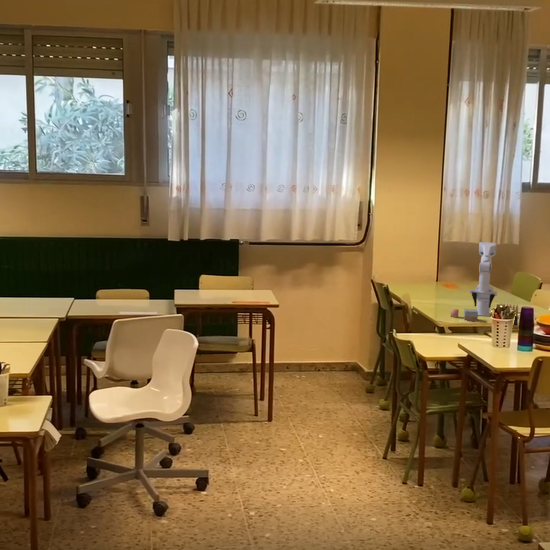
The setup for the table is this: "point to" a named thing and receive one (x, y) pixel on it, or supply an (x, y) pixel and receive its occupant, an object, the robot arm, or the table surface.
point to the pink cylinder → (454, 313)
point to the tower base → (470, 318)
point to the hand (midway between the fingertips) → (482, 306)
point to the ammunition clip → (516, 313)
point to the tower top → (471, 312)
